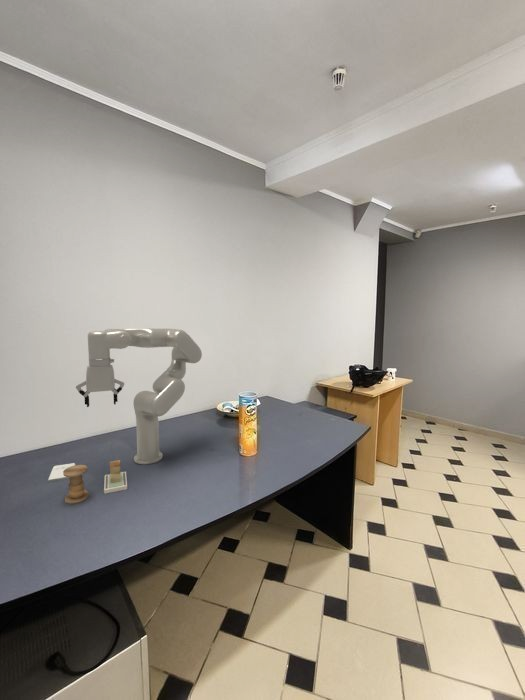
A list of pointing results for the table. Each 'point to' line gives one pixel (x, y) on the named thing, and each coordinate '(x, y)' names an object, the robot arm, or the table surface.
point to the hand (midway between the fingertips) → (101, 404)
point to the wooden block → (115, 471)
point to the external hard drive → (59, 472)
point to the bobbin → (76, 484)
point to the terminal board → (115, 484)
